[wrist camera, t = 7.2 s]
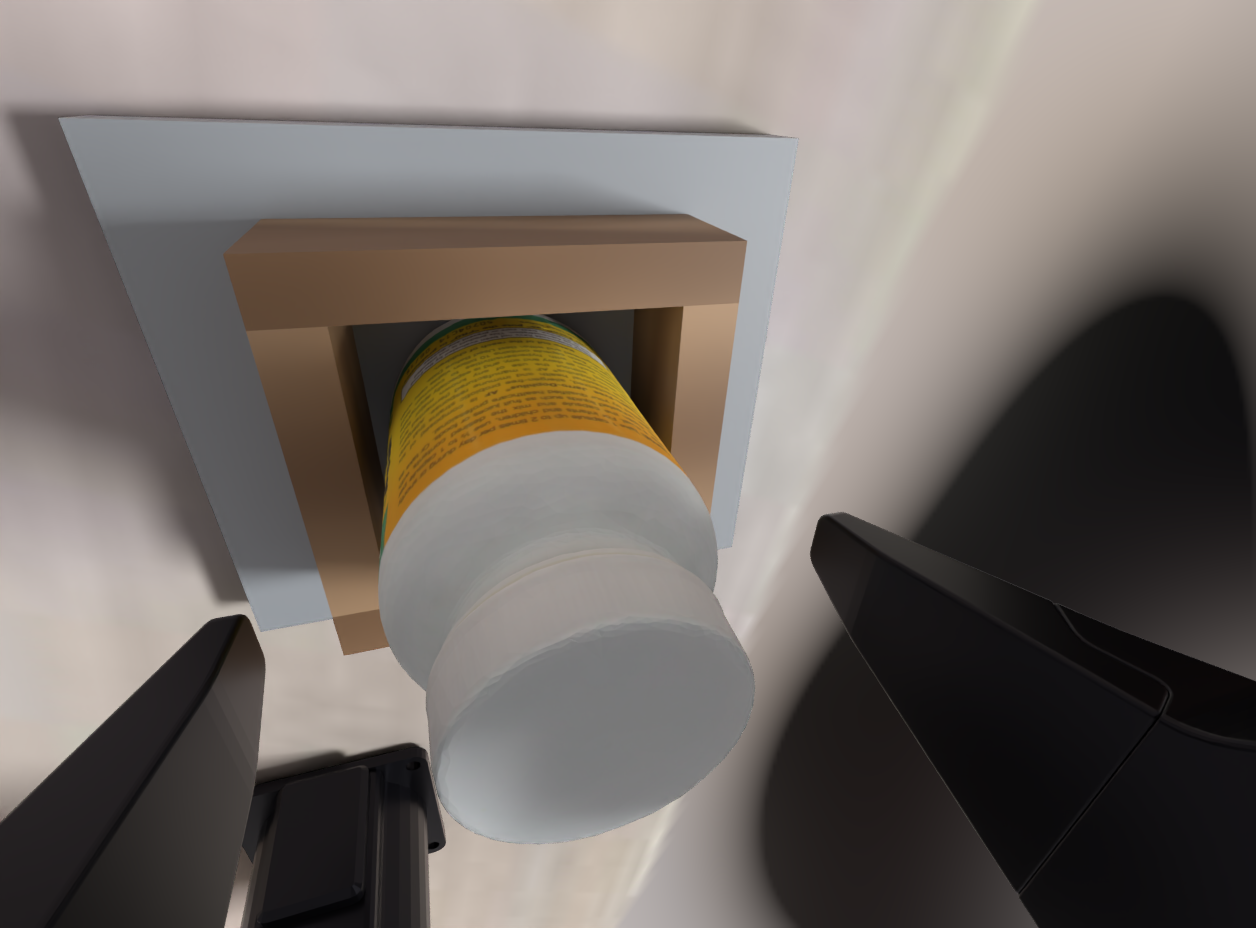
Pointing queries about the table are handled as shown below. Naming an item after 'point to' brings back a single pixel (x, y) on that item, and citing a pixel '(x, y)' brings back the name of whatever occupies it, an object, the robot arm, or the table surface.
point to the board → (381, 188)
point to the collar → (461, 289)
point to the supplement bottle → (550, 587)
